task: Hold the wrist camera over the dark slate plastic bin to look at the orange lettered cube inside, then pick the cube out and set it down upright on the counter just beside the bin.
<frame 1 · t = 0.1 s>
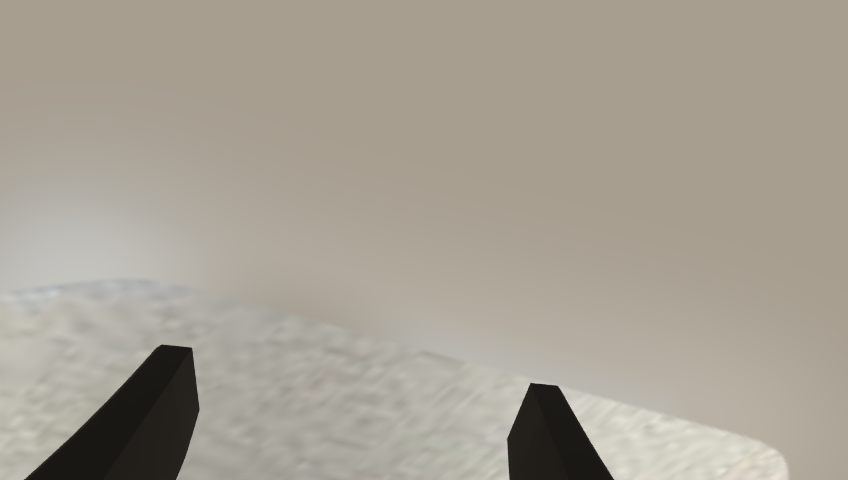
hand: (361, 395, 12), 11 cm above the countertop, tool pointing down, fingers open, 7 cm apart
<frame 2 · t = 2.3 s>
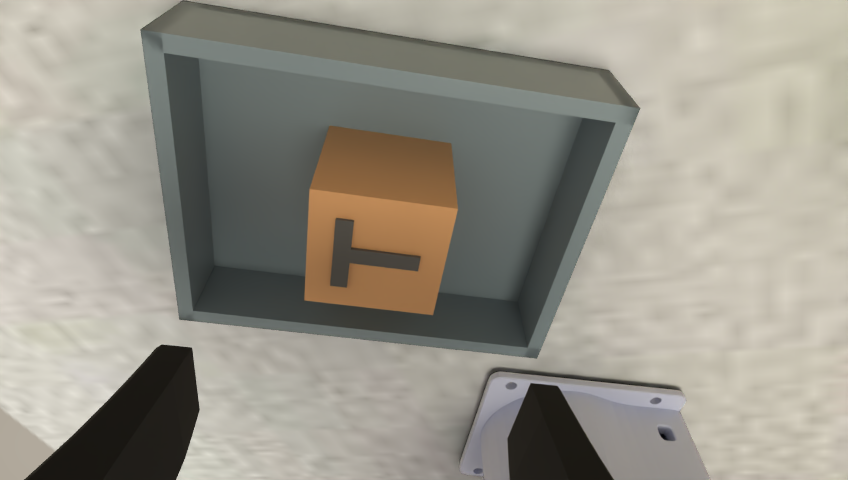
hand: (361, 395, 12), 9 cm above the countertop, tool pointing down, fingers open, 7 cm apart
letter cube: (383, 186, 19), resting on bin
bin: (384, 179, 20), on the countertop
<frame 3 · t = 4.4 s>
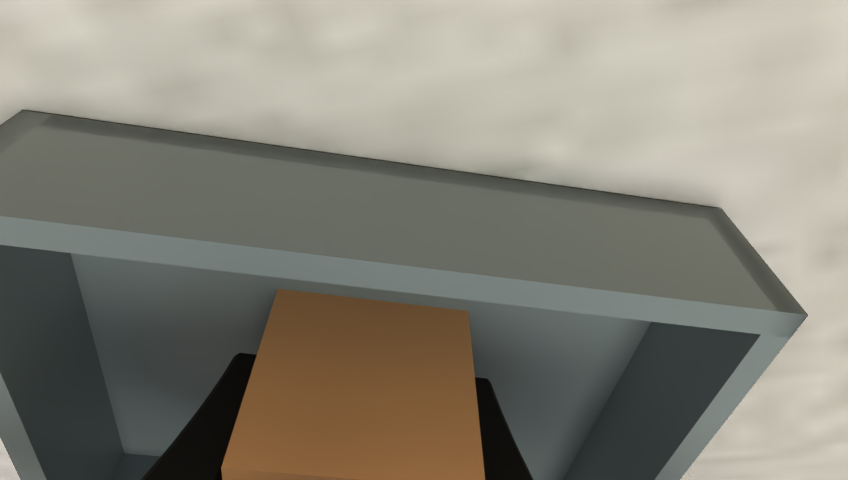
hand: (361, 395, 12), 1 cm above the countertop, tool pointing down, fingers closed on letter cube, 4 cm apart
letter cube: (365, 363, 13), resting on bin, touching gripper
bin: (366, 347, 13), on the countertop
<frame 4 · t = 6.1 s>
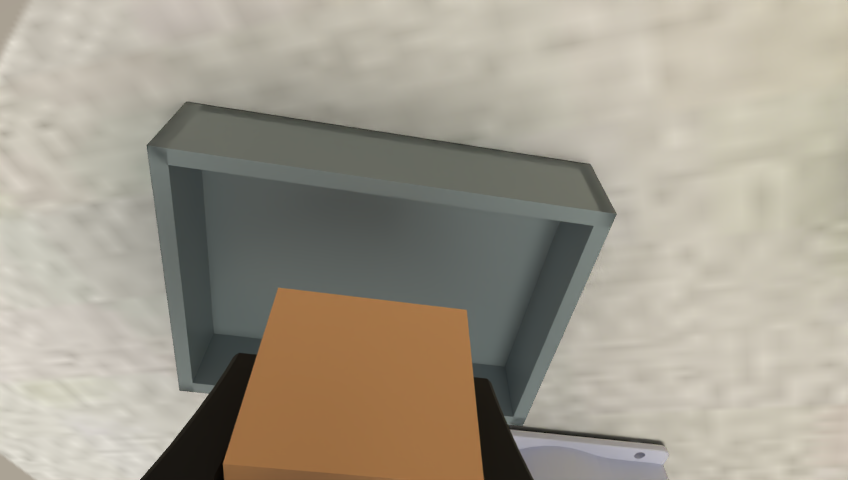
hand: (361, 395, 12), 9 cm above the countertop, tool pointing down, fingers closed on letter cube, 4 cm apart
letter cube: (364, 362, 13), point 8 cm above the countertop, touching gripper
bin: (377, 257, 21), on the countertop
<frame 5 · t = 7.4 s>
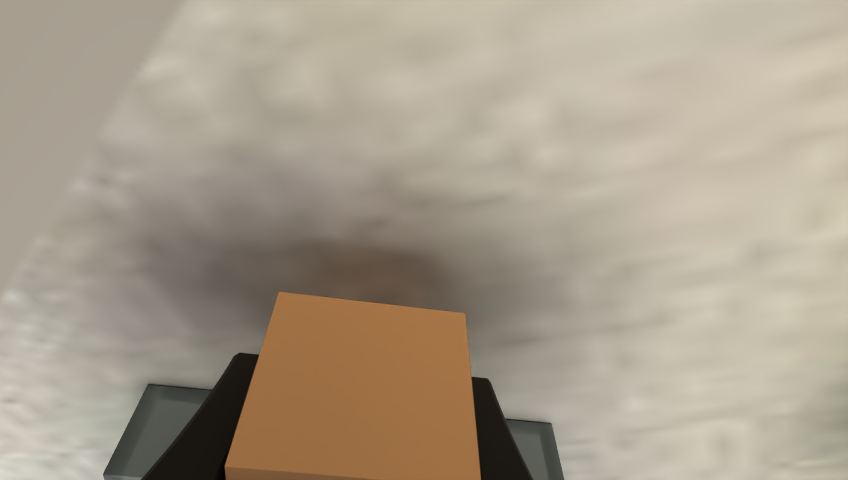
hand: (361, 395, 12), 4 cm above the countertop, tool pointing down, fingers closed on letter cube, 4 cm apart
letter cube: (364, 365, 13), point 3 cm above the countertop, touching gripper
when the fingers open (2 cm above the countertop, at t = 8.1 s): letter cube drops 1 cm, on the countertop.
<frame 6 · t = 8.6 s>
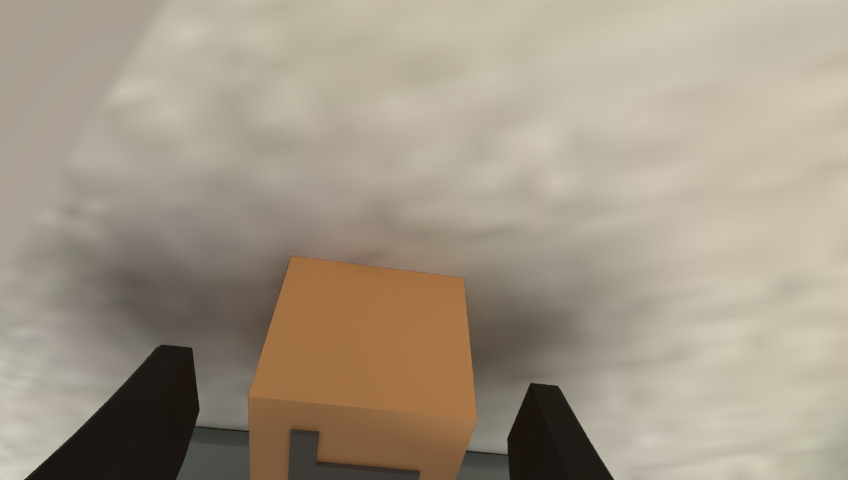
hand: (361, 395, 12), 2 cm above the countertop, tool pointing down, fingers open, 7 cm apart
letter cube: (369, 325, 14), on the countertop
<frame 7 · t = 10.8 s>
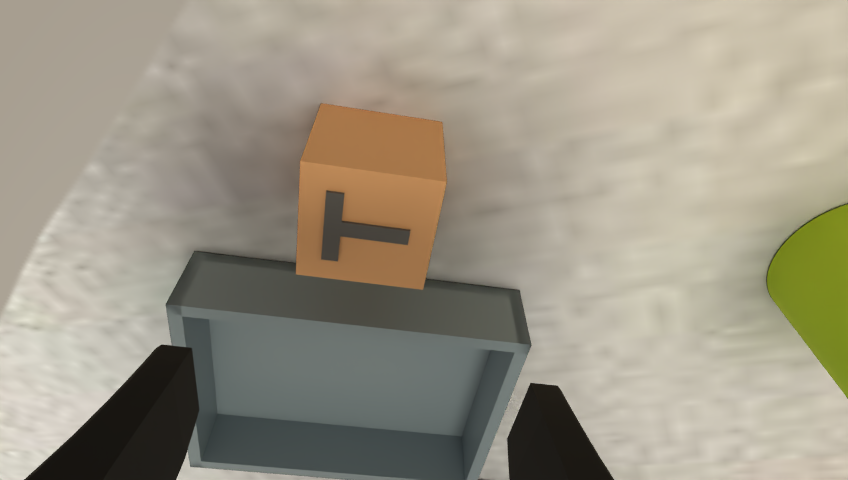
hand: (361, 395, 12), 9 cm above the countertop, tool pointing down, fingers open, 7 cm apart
soap dispenser: (836, 268, 22), on the countertop
letter cube: (375, 164, 19), on the countertop
bin: (351, 356, 25), on the countertop
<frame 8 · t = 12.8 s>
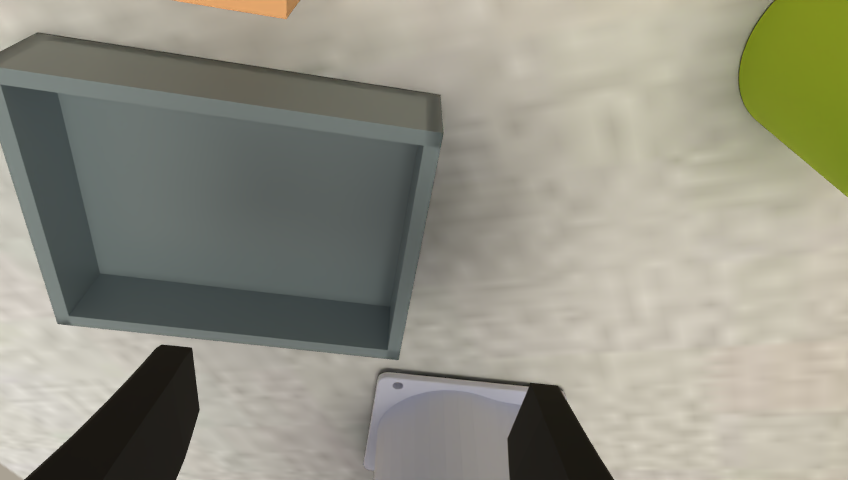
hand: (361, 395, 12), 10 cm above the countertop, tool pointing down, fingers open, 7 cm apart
soap dispenser: (823, 64, 18), on the countertop
bin: (249, 193, 21), on the countertop
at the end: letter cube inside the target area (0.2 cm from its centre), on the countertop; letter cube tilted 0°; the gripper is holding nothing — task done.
